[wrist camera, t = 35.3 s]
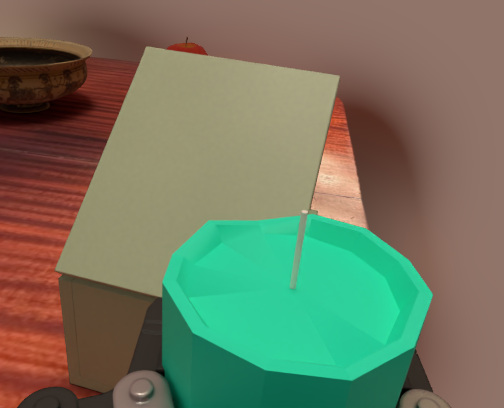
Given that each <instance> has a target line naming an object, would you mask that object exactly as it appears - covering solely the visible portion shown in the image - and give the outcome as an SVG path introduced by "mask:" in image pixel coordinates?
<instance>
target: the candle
mask: <svg viewBox="0 0 504 408" xmlns="http://www.w3.org/2000/svg"><path fill="white" fill-rule="evenodd" d="M432 296H433V294H432V292H431V291H430V290H429V288H428V287H427V285H426V284H425V282H424V281H423V279H422V278H421V277H420V275H419V274H418V272H417V271H416V270H415V268H414V267H413V265H412V264H411V262H410V261H409V260H408V259H407V258H405V257H404V256H403V255H401V254H400V253H399V252H397V251H396V250H394V249H393V248H392V247H390V246H389V245H388V244H386V243H385V242H384V241H382V240H381V239H380V238H378V237H377V236H376V235H374V234H373V233H372V232H370V231H369V230H367V229H366V228H362V227H359V226H355V225H351V224H348V223H344V222H340V221H337V220H333V219H329V218H326V217H322V216H318V215H315V214H309V215H308V211H306V210H302V211H301V215H300V216H292V217H283V218H275V219H266V220H258V221H251V220H209V221H208V222H206V223H205V224H204V225H203V226H202V227H201V228H200V229H199V230H198V231H197V232H196V233H195V234H194V235H193V236H191V237H190V238H189V239H188V240H187V241H186V242H185V243H184V244H183V245H182V246H181V247H180V248H179V249H178V250H176V251H175V252H174V253H173V254H172V257H171V260H170V262H169V265H168V268H167V271H166V273H165V276H164V279H163V282H162V366H163V368H164V370H165V379H166V380H167V382H168V384H169V387H170V391H171V395H172V398H173V400H174V408H396V405H397V402H398V400H399V396H400V393H401V390H402V387H403V385H404V382H405V379H406V376H407V373H408V370H409V367H410V364H411V360H412V357H413V354H414V351H415V348H416V345H417V342H418V339H419V336H420V333H421V330H422V327H423V324H424V321H425V317H426V314H427V312H428V308H429V305H430V302H431V299H432Z"/></svg>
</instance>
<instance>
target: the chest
mask: <svg viewBox="0 0 504 408" xmlns="http://www.w3.org/2000/svg"><path fill="white" fill-rule="evenodd" d="M317 213H318V211H316V210H311V209H310V212H309V214H315V215H317ZM58 280H59V289H60V298H61V307H62V316H63V325H64V334H65V343H66V352H67V361H68V370H69V380H70V383H71V384H75V385H78V386H81V387H85V388H88V389H91V390H95V391H98V392H101V393H106V392H108V391H110V390H112V389H113V388H115V386H116V384H117V383H118V382H119V381H120V380H121V379H122V378H123V377H124V376H126V375H127V373H128V370H129V367H130V363H131V360H132V357H133V354H134V351H135V347H136V344H137V341H138V338H139V334H140V332H141V328H142V325H143V323H144V318H145V315H146V312H147V309H148V307H149V306H150V305H151V304H152V303H153V302H154V301H155V300H156V299H157V298H154V297H150V296H146V295H142V294H138V293H134V292H130V291H126V290H122V289H118V288H114V287H110V286H106V285H102V284H99V283H95V282H91V281H87V280H83V279H79V278H75V277H71V276H67V275H62V276H61V277H60V278H59V279H58Z"/></svg>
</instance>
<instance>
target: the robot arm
mask: <svg viewBox="0 0 504 408" xmlns="http://www.w3.org/2000/svg"><path fill="white" fill-rule="evenodd" d="M17 408H174V400H173V398H172V395H171V391H170V387H169V384H168V382H167V380H166V379H165V370H164V368H163V366H162V298H161V297H158V298H157V299H156V300H155V301H154V302H153V303H152V304H151V305H150V306H149V307H148V309H147V312H146V315H145V318H144V323H143V325H142V328H141V332H140V334H139V338H138V341H137V344H136V347H135V351H134V354H133V357H132V360H131V363H130V367H129V370H128V373H127V375H126V376H124V377H123V378H122V379H121V380H120V381H119V382H118V383H117V384H116V386H115V388H113V389H112V390H110V391H108V392H106V393H103V394H100V395H96V396H91V397H86V398H81V399H77V397H76V395H75V394H74V393H73V392H72V391H70V390H69V389H66V388H63V387H48V388H44V389H41V390H38V391H36V392H34V393H32V394H31V395H29V396H28V397H27V398H25V399H24V400H23V401H22V402H21V403H20V405H19V406H18V407H17ZM396 408H451V407H450V405H449V404H448V403H447V402H446V401H445V400H444V399H442V398H441V397H439V396H438V395H436V394H434V393H433V390H432V388H431V386H430V383H429V381H428V378H427V376H426V374H425V371H424V369H423V366H422V364H421V361H420V359H419V356H418V354H416V349H415V351H414V354H413V357H412V360H411V364H410V367H409V370H408V373H407V376H406V379H405V382H404V385H403V387H402V390H401V393H400V396H399V400H398V402H397V405H396Z"/></svg>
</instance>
